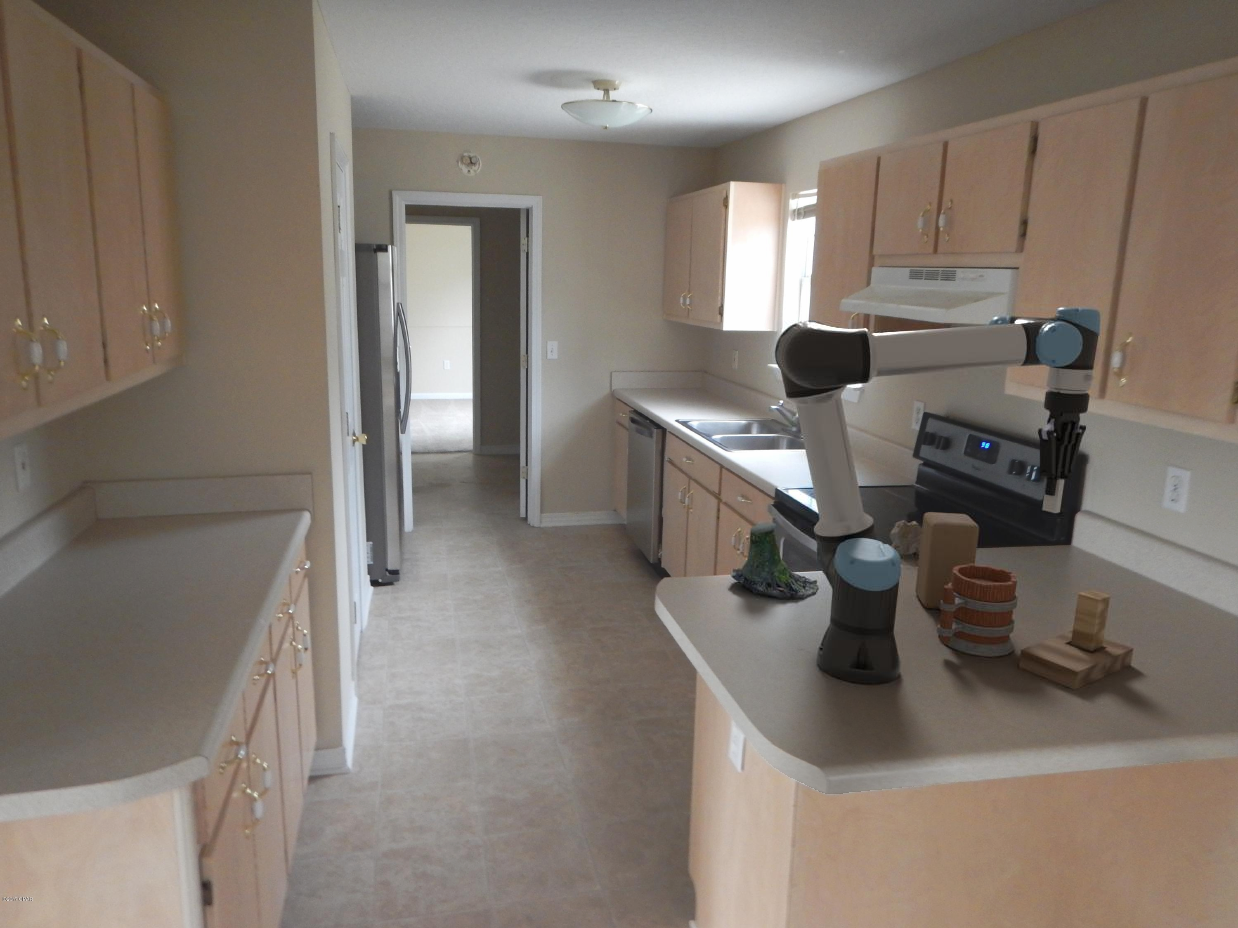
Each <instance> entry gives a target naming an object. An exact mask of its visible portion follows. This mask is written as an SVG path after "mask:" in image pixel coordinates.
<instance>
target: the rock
mask: <svg viewBox="0 0 1238 928" xmlns="http://www.w3.org/2000/svg"><path fill="white" fill-rule="evenodd" d="M894 525H895V526H893V529H891V531H890V533H889V539H890V540H891V541H892V544H891V545H890V546H891V547H893V548H894V549H895V550H896V551H897V552H898V554H899V556H900V558H903V557H904V556H907V555H911V554H912V555H913V556H914V557H916V558H919V553H920V543H921V534H922V527H921V526H920V524H919V523H918V522H917V521H916V520H913V521H910V522H907V521H906V520H899V521H897V522H896V523H894Z"/></svg>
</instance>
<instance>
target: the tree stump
mask: <svg viewBox="0 0 1238 928" xmlns="http://www.w3.org/2000/svg"><path fill="white" fill-rule="evenodd" d="M749 535H750V536H749V544H748V545H749V546H748V552H747V553H748V555H747V558H746V561H745V562H744V563H743V566H742V567H738V568H737V569H736V568H733V570H732V572H731V573H730V577H731V578H733V580H735V581H737V582H738V583H740V584H741V585H743V586H744V587H746V588H747V589H749V590H750V591H752V592H753V594H756V595H761V596H765V597H768V598H772V599H773V598H774V599H778V600H798V599H805V598H808V597H812V596H815V595H816V593H817V591H818V590H819V585H818V584H817V583H818V580H817V579H815V580H813V579H810V578H807V577H806V576H804V575H800V574H797V573H796V572H793V571H791V570H789V567H788V564H786V563H785V561H784V560H782V557H781V553H780V548H779V543H778V538H777V524H776V523H774V522H769V521H768V522H766V521H765V522H760V523H758V524H756V525H753V526H752V527H751V528H750V534H749Z"/></svg>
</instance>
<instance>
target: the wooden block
mask: <svg viewBox="0 0 1238 928" xmlns="http://www.w3.org/2000/svg"><path fill="white" fill-rule="evenodd" d="M922 517H923V518H922V527H921V528H922V534H921V543H920V553H919V557H918V564H917V573H916V582H915V590H914V592H915V594H916V596H917V597H918V599H919V600H920V601H921V604H922V606H924V607H925V608H927V609H936V610H938V609H939V610H941V608H940V604H941V600H943V596H944V594H943V593H944V586H945V585H949V584H950V583H951V581H952V572H953V568H954V567H956V566H961V565H967V564H974V565H976V556H977V549H978V548H977V547H978V541H979V532H980V527H979V524H977V523H976V522H975V521H974V520H973V519H972V518H971V517H970V516H969V515H968V514H965V513H954V512H953V513H952V512H951V513H950V512H948V513H947V512H933V511H930V512H929V511H928V512H925V513H924V514H923V516H922Z"/></svg>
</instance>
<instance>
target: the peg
mask: <svg viewBox="0 0 1238 928" xmlns="http://www.w3.org/2000/svg"><path fill="white" fill-rule="evenodd" d="M1076 599H1077V600H1076V605H1075V606H1076V607H1075V614H1074V621H1073V626H1072V627H1073V628H1072V631H1073V632H1072V639H1071V643H1070V646H1072V647H1075V648H1078V649H1080V650H1083V651H1086V652H1089V653H1091V654H1094V653H1096V652H1099V651H1101V650H1102V648H1103V646H1102V645H1103V639H1104V638H1105V633H1106V625H1107V619H1108V614H1109V605H1110V601H1111V595H1108V594H1104V593H1102V592H1098V591H1095V590H1092V589H1088V590H1084V591H1081V592H1078V594H1077V598H1076Z"/></svg>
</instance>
